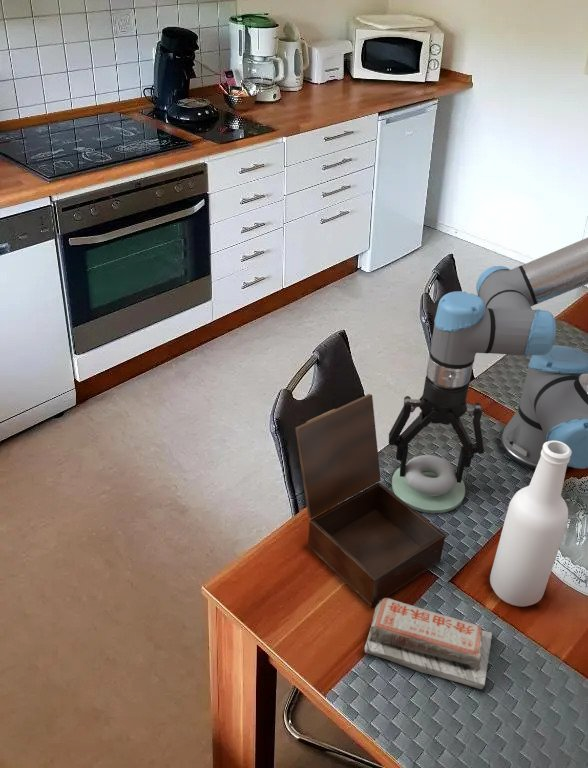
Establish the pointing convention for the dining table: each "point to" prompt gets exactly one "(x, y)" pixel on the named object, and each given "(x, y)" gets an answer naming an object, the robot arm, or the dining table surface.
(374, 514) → the wooden box
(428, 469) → the donut
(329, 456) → the lid
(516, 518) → the alcohol
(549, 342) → the robot arm
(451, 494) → the saucer
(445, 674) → the packaged product
